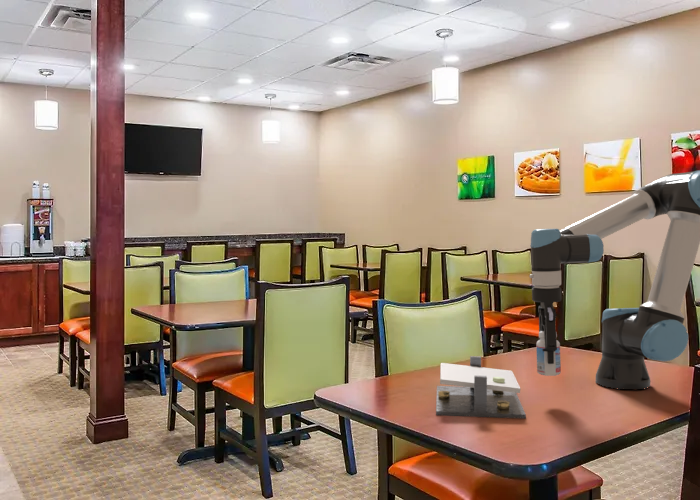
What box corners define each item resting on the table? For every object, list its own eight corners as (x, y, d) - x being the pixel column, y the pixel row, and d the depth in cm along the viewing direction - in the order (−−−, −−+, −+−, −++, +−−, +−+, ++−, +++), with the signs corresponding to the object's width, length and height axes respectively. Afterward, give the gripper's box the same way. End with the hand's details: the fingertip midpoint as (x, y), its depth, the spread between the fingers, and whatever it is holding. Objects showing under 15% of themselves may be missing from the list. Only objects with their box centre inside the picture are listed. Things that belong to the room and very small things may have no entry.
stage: (511, 374, 182) (511, 367, 182) (520, 394, 160) (521, 386, 160) (440, 366, 185) (441, 359, 185) (440, 384, 163) (440, 377, 163)
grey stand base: (514, 391, 184) (514, 357, 184) (525, 418, 158) (526, 378, 158) (437, 389, 187) (437, 355, 187) (436, 415, 162) (436, 375, 161)
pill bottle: (562, 376, 168) (561, 333, 168) (538, 376, 170) (536, 334, 169) (559, 371, 174) (558, 330, 174) (536, 370, 176) (535, 330, 175)
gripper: (527, 283, 181) (529, 364, 182) (537, 290, 162) (539, 381, 163) (554, 282, 180) (556, 364, 181) (567, 290, 161) (569, 381, 162)
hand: (548, 372), depth 172 cm, fingers closed on pill bottle, 6 cm apart
